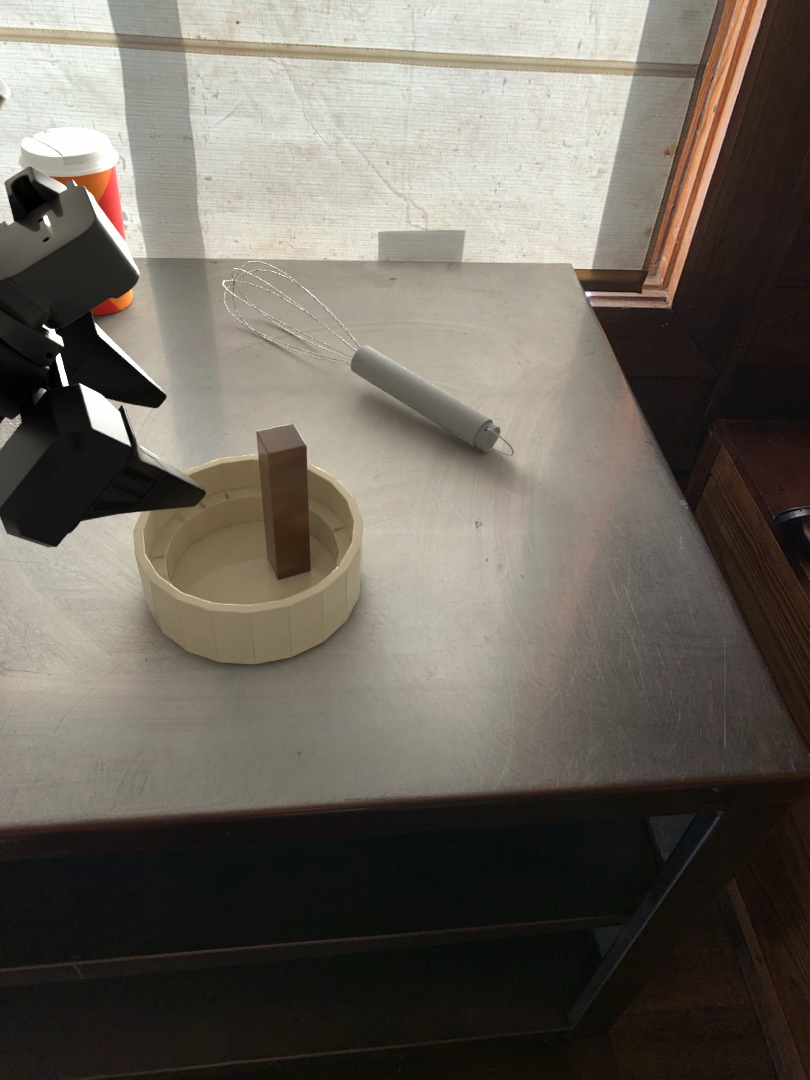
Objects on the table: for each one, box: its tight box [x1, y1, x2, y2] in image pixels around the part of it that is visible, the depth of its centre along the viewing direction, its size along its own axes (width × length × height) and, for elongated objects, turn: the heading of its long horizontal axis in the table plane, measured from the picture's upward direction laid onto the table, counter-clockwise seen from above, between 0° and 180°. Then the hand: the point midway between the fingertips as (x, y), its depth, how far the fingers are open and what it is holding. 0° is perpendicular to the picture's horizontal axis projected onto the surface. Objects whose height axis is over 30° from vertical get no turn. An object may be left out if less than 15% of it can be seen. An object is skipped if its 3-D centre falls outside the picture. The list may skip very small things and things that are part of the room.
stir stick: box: [255, 422, 311, 580], centre depth 51 cm, size 2×2×11 cm
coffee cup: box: [18, 127, 133, 316], centre depth 74 cm, size 8×8×15 cm
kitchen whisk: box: [221, 260, 515, 457], centre depth 70 cm, size 6×34×6 cm, turn 50°
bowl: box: [133, 454, 364, 665], centre depth 52 cm, size 14×14×6 cm
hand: (180, 446), depth 44 cm, fingers open, 9 cm apart
